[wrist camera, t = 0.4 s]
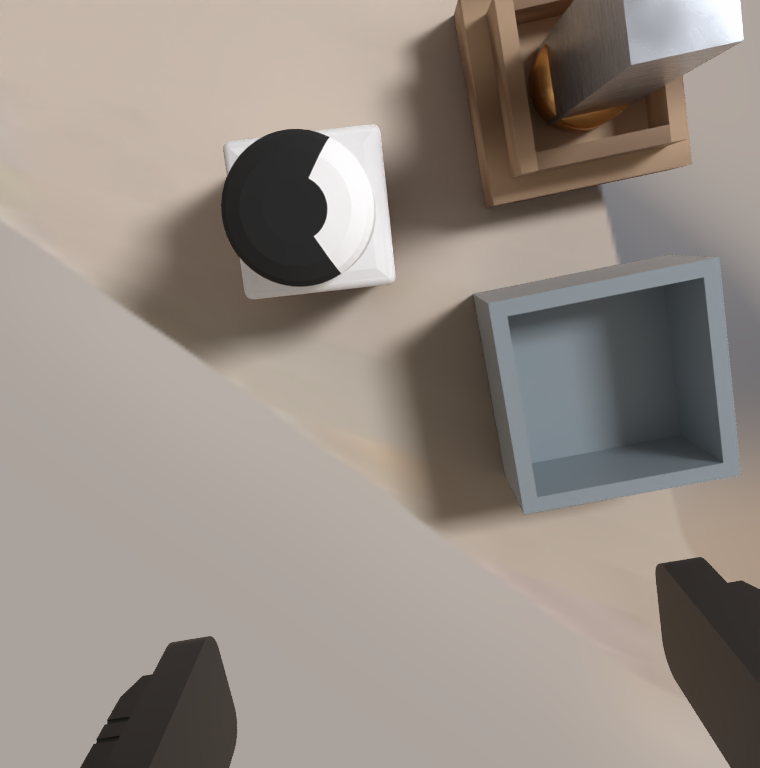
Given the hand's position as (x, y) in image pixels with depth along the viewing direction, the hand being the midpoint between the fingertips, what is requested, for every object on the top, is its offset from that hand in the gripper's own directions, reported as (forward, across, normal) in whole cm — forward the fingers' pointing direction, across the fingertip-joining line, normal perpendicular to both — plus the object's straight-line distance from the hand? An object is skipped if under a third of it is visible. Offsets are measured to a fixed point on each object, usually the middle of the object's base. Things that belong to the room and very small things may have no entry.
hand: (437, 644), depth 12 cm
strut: (+25, -11, -12) cm, 30 cm away
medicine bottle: (+28, +3, -8) cm, 30 cm away
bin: (+28, -10, +3) cm, 30 cm away
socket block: (+28, -11, -12) cm, 33 cm away
